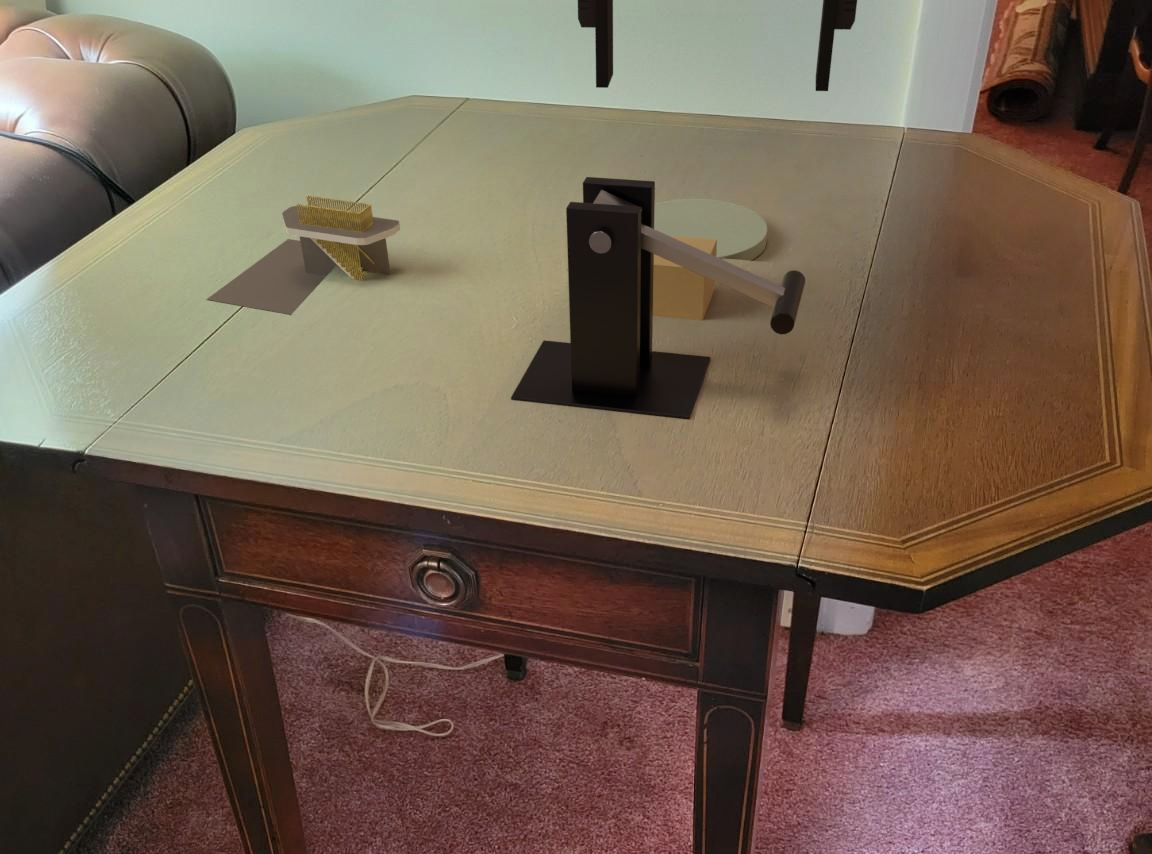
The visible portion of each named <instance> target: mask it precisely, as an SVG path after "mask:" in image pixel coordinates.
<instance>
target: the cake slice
mask: <svg viewBox="0 0 1152 854" xmlns="http://www.w3.org/2000/svg"><path fill="white" fill-rule="evenodd" d="M670 237H673V238H675V239H677V240H679V241H681V242H684V243H686V244H688V245H690V246H693V247H695V248H697V249H699V250H702V251H704V252H706V253H708V254H711V255H713V256H715V257H716V251H717V240H716V239H704V238H691V237H678V236H670ZM715 287H716V282H715V281H713V280H711V279H709V278H707V277H704V276H702V275H700V274H698V273H695V272H693V271H691V270H689V269H686V268H684V267H682V266H680V265H677V264H675V263H673V262H671V261H668V260H666V259H664V258H662V257H660V256H657V255H655V254H654V270H653V317H663V318H673V319H684V320H694V321H695V320H696V321H704V319H705V317H706V313H707V311H708V308H709V306H710V302H711V300H712V298H713V295H714V292H715Z"/></svg>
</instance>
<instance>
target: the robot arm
mask: <svg viewBox="0 0 1152 854" xmlns="http://www.w3.org/2000/svg"><path fill="white" fill-rule="evenodd" d="M857 5H858V0H822V9H821V17H820V18H821V19H820V29H819V39H818V49H817V60H816V69H815V92H829V86H830V76H831V67H832V58H833V57H832V56H833V48H834V40H835V30H846V31H847V30H852V28H853V25H854V23H855V22H856V14H857ZM577 20H578V23H579V25H580V27H581V28H585V29H587V28H588V29H589V28H590V29H591V28H592V29H593V28H594V32H595V33H594V34H595V35H594V38H595V88H596V89H597V88H601V89H602V88H603V89H608V88H609V86H610V83H611V81H612V78H613V75H614V0H577Z"/></svg>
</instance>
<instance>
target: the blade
mask: <svg viewBox="0 0 1152 854" xmlns="http://www.w3.org/2000/svg"><path fill="white" fill-rule="evenodd" d="M594 203H595V204H609V205H623V206H637V205H635V204H633V203H630V202H628V201H626V200H624V199H621V198H619V197H617V196H615V195H612V194H610V193H608V192H606V191H603V190H601V191H600V193H599V194H598V196H597V198H596V199H595V201H594ZM637 207H639V206H637ZM641 211H642V208H641ZM641 248H642V249H644V250H646V251H648V252H651V253H653V254H655V255H657V256H660V257H662V258H664V259H666V260H668V261H671V262H673V263H675V264H677V265H680V266H682V267H684V268H686V269H689V270H691V271H693V272H695V273H698V274H700V275H702V276H704V277H707V278H709V279H711V280H713V281H715V283H718V284H720V285H722V286H725V287H726V288H729V289H731V290H734V291H736V292H738V293H740V294H742V295H745V296H747V297H750V298H751V299H754V300H755V301H758V302H760V303H763V304H765V305H766V306H769V307H771V308H773V310H772V313H771V314H772V315H771V318H770V322H769V325H770V328H771V330H772V331H773V332H774V333H776V334H778V335H787V334H789V333H790V332H792V331H793V329H794V328H795V325H796V320H797V317H798V313H799V309H800V304H801V301H802V297H803V293H804V290H805V287H806V286H805V285H806V277H805V275H804V274H803V273H802V272H801V271H799V270H794V269H793V270H789V271H787V272H786V273H785V274H784V275H783V276H782V280H781V284H777V283H775V282H773V281H771V280H769V279H766V278H764V277H762V276H759V275H758V274H755V273H753V272H750V271H748V270H747V269H744V268H742V267H740V266H737V265H735V264H733V263H731V262H729V261H726V260H724V259H719V258H717V257H715V256H713V255H711V254H708V253H706V252H704V251H702V250H699V249H697V248H695V247H693V246H690V245H688V244H686V243H684V242H681V241H679V240H677V239H675V238H673V237H670V236H668V235H666V234H664V233H661V232H659V231H657V230H655V229H652V228H650V227H648V226H646V225H643V224H641Z"/></svg>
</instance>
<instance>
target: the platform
mask: <svg viewBox="0 0 1152 854" xmlns="http://www.w3.org/2000/svg"><path fill="white" fill-rule="evenodd" d="M305 198H306V202H307V204H301V203H296V205H293V206H290V207H288V208H287V209H285V210H283V211H282V212H281V216H282V220H283V224H284V227H285V230H286V231H285V232H286V234H288V235H289V236H294V237H295V236H296V237H299V239H298V240H297V239H291V238H288V239H286V240H285V241H282V243H280V244H279V245H278V246H276V247H275V248H274V249H272V250H271V251H270V252H269V253H267V254H265V255H264V256H263V257H261V258H260V259H259V260H258V261H256V262H255V263H253V264H252V265H251V266H249V267H248V268H247V269H246V270H244V271H242V273H240V274H238V275H237V276H236V277H235V278H233V279H232V280H230V281H229V282H227V283H226V284H225V285H223V286H222V287H221V288H220V289H218V290H217V291H216V292H214V293H213V294H212V295H210V296H209V297H208V298H206V300H207V301H212V302H219V303H224V304H230V305H236V306H241V307H246V308H253V309H258V310H265V311H268V312H276V313H282V314H287V315H293V314H294V313H295V311H297V310H298V308H299V307H301V305H302V304H303V303H304V302H305V301H306V300H307V299H308V297H309V296H310V295H311V294H312V293H313V292H314V291H315V290H316V289H317V287H318V286H319V285H320V284H322V282H323V281H324V280H325V279H326V278H327V277H328V276H329V274H331V272H332V271H333V270H334V269H335V268H337V267H338V268H340V269H341V270H342V271H343V272H344V273H345V274H346V275H347V277H349V278H353V280H355V281H362V282H363V281H364V278H363V277H364V276H365V275H367V273H368V272H369V273H375V274H381V275H382V274H383V275H388V276H390V275H391V269H390V268H391V266H390V260H389V252H388V244H387V238H390V237H392V236H395V235H396V234H397V233H398V232H399V231H400V230H401V225H400V221H399V220H396V219H391V218H384V217H378V216H377V217H375V216H373V210H372V209H373V208H372V205H373V204H372V203H366V202H359V201H351V200H343V199H336V198H330V197H321V196H315V195H306V196H305Z"/></svg>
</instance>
